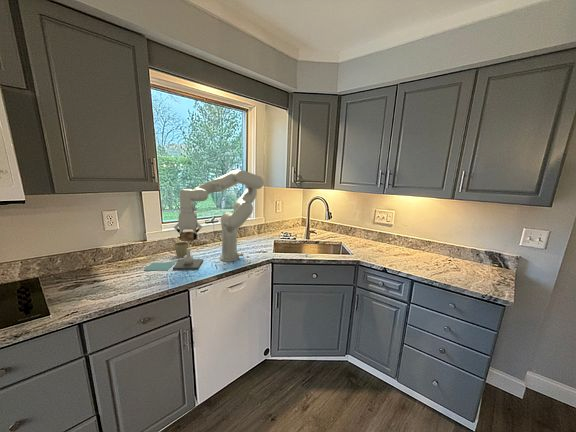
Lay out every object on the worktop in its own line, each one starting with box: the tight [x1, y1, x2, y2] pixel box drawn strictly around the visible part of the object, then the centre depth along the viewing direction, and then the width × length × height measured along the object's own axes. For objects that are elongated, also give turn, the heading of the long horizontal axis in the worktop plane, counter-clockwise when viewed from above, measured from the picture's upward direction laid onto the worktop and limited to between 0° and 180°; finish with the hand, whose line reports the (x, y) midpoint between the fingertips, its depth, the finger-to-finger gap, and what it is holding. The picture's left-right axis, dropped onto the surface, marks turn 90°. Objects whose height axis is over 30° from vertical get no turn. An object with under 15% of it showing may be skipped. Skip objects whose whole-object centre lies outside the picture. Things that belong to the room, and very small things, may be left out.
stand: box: [172, 248, 204, 271], centre depth 146 cm, size 14×14×11 cm
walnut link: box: [180, 230, 195, 242], centre depth 144 cm, size 7×7×4 cm
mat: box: [143, 261, 176, 272], centre depth 143 cm, size 13×12×1 cm
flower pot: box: [173, 241, 189, 259], centre depth 162 cm, size 9×9×9 cm
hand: (188, 239), depth 145 cm, fingers closed on walnut link, 6 cm apart
